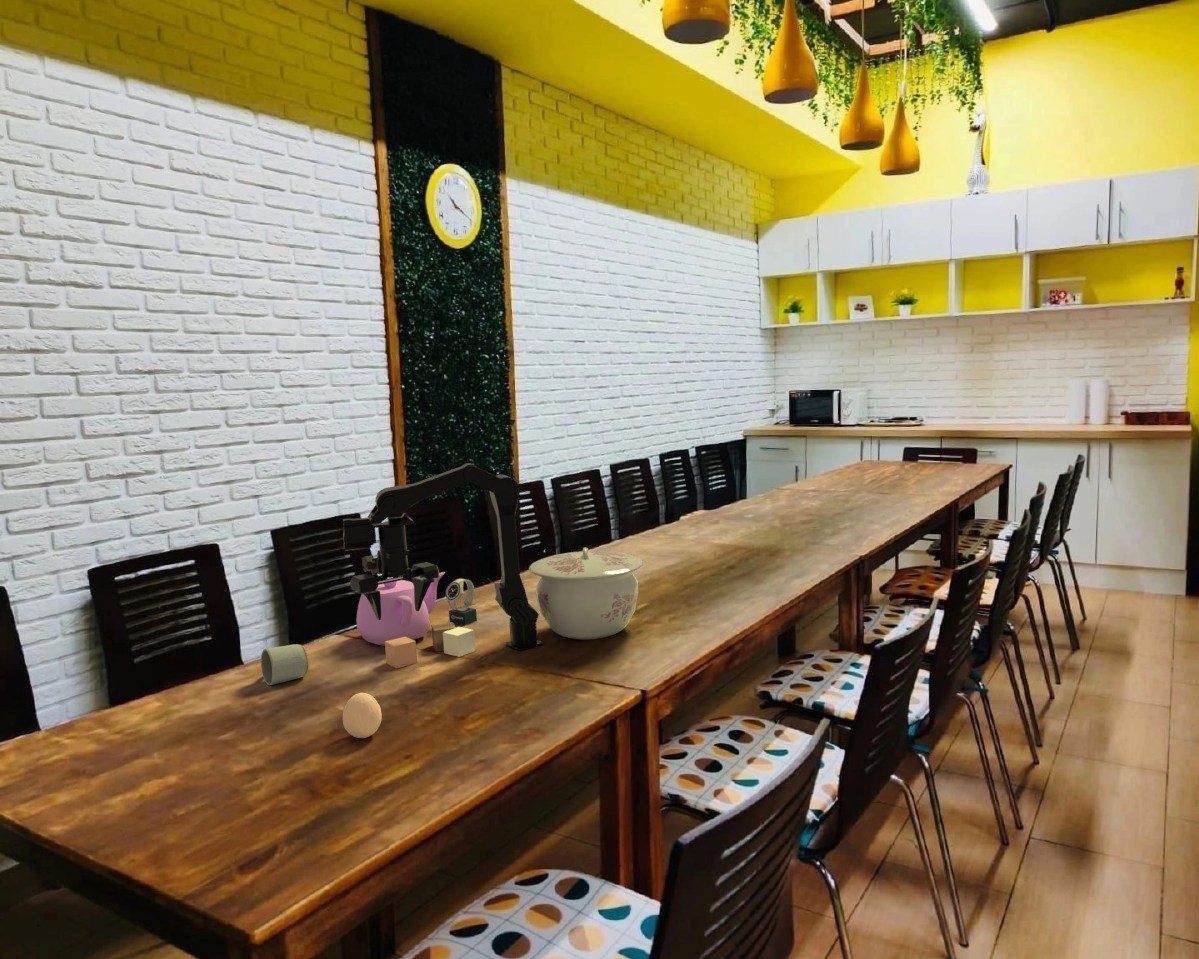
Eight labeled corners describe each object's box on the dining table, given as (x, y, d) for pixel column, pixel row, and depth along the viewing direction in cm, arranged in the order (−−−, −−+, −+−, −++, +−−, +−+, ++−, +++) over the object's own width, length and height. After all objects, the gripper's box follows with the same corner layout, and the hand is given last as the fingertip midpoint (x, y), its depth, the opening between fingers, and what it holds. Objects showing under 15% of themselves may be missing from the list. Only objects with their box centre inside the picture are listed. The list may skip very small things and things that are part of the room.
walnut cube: (457, 648, 200) (456, 627, 199) (435, 651, 198) (434, 630, 198) (454, 642, 205) (452, 622, 204) (432, 645, 203) (431, 625, 202)
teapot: (378, 657, 196) (373, 593, 194) (349, 636, 213) (344, 576, 211) (470, 637, 208) (466, 576, 206) (435, 618, 226) (431, 562, 224)
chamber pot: (578, 658, 189) (573, 565, 186) (510, 632, 210) (505, 549, 208) (671, 630, 206) (668, 545, 203) (600, 608, 227) (596, 531, 225)
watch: (444, 624, 220) (441, 582, 218) (465, 616, 226) (463, 575, 225) (460, 627, 217) (457, 584, 215) (481, 619, 223) (479, 577, 222)
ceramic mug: (312, 679, 183) (309, 644, 183) (273, 689, 178) (270, 653, 177) (293, 668, 191) (290, 634, 191) (256, 678, 186) (252, 643, 185)
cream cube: (475, 651, 197) (474, 629, 197) (459, 657, 194) (457, 635, 193) (460, 647, 201) (459, 626, 200) (444, 653, 197) (442, 632, 196)
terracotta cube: (417, 663, 191) (415, 641, 190) (396, 668, 188) (394, 646, 187) (406, 657, 195) (405, 636, 194) (386, 663, 192) (384, 641, 191)
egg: (344, 747, 148) (340, 703, 147) (344, 732, 155) (340, 690, 154) (384, 741, 150) (380, 697, 149) (382, 726, 156) (379, 684, 155)
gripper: (414, 534, 200) (419, 600, 202) (337, 548, 189) (343, 617, 191) (438, 540, 192) (442, 609, 193) (358, 555, 180) (364, 627, 182)
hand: (398, 615), depth 190 cm, fingers open, 9 cm apart
